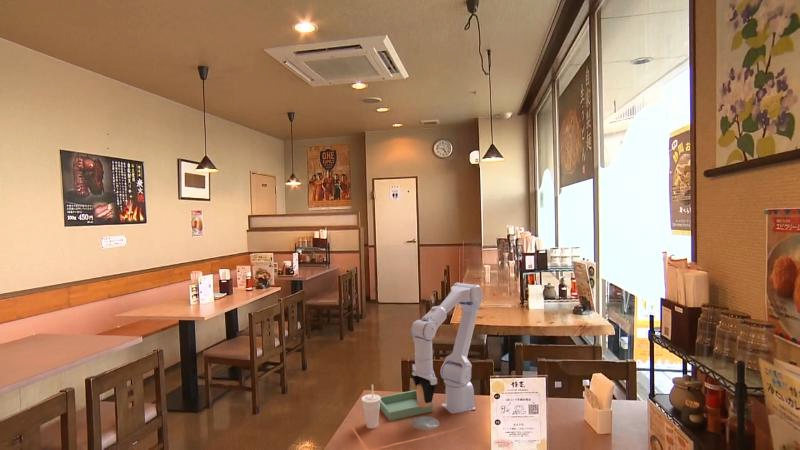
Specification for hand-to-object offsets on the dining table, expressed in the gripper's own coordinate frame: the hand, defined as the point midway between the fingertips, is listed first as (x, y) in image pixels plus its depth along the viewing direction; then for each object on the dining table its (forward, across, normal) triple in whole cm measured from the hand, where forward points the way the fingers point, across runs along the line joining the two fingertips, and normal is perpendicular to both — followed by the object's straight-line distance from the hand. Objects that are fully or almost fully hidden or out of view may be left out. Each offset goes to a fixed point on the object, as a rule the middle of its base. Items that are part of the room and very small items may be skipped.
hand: (424, 399), depth 141 cm
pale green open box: (+8, -13, -2) cm, 16 cm away
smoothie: (+9, -6, -16) cm, 19 cm away
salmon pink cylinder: (+2, 0, 0) cm, 2 cm away
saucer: (+8, 0, 0) cm, 8 cm away
